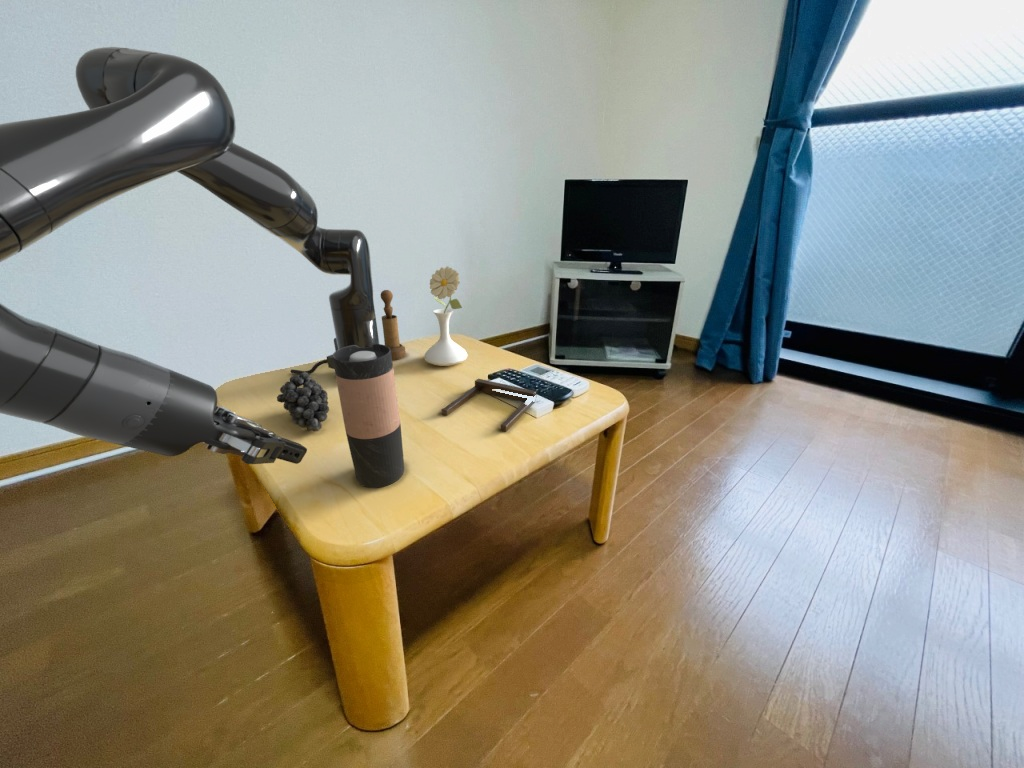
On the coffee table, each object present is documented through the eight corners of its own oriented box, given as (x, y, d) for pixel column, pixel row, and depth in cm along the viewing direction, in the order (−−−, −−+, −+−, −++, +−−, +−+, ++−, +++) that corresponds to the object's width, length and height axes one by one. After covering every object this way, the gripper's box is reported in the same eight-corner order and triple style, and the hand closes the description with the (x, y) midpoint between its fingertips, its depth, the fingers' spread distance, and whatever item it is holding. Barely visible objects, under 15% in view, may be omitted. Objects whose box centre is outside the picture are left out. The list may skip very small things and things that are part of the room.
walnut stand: (442, 414, 78) (441, 403, 77) (478, 388, 90) (478, 378, 89) (506, 431, 73) (506, 420, 72) (536, 401, 84) (536, 391, 83)
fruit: (319, 390, 66) (309, 360, 78) (270, 415, 64) (267, 380, 75) (344, 427, 71) (331, 394, 83) (299, 452, 69) (292, 414, 80)
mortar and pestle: (399, 361, 104) (391, 293, 97) (376, 359, 106) (367, 292, 98) (409, 353, 110) (403, 288, 103) (388, 351, 112) (380, 287, 104)
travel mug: (378, 496, 56) (356, 366, 48) (344, 477, 60) (318, 354, 51) (416, 468, 62) (403, 349, 54) (383, 453, 66) (366, 339, 57)
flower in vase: (416, 360, 105) (407, 264, 95) (451, 351, 112) (446, 260, 102) (443, 375, 96) (437, 270, 86) (480, 364, 103) (478, 266, 93)
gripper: (189, 385, 32) (346, 445, 47) (141, 351, 40) (291, 412, 54) (130, 469, 31) (312, 504, 45) (92, 418, 38) (259, 462, 52)
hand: (300, 454), depth 49 cm, fingers closed
